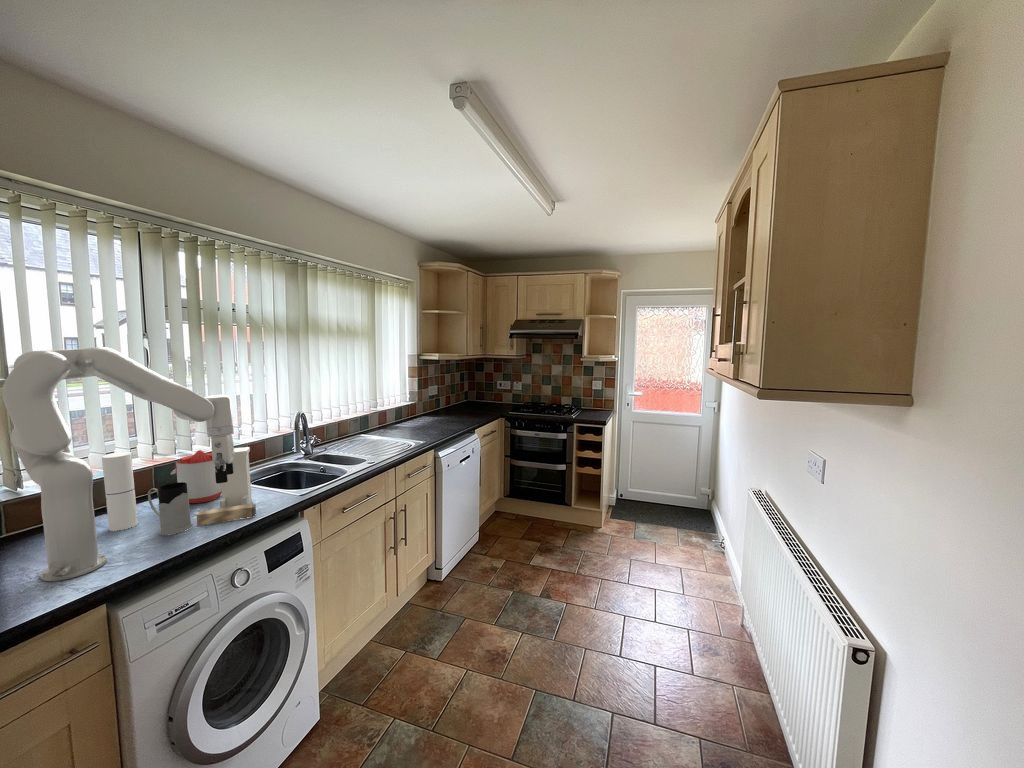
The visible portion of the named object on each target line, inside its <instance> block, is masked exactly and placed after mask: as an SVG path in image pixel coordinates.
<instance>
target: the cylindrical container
mask: <svg viewBox="0 0 1024 768" xmlns="http://www.w3.org/2000/svg"><path fill="white" fill-rule="evenodd" d="M132 461H133V460H132V452H129V451H128V452H127V451H122V452H114V453H108V454H105V455H102V456H101V463H102V464H101V465H102V470H103V480H104V492H105V499H106V511H107V519H108V530H109V531H110V532H120V531H119V530H121V531H124V529H125V530H128V528H129V529H132V528H134V527H136V526H138V513H137V512H138V511H137V501H136V500H137V499H136V490H135V489H136V488H135V481H134V480H135V479H134V471H133V462H132ZM131 527H132V528H131ZM117 530H118V531H117Z"/></svg>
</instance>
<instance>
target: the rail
mask: <svg viewBox="0 0 1024 768" xmlns="http://www.w3.org/2000/svg"><path fill="white" fill-rule="evenodd" d="M255 514H256V515H257V507H256V504H253V503H250V504H246V505H239V506H232V507H225V508H220V507H218V508H211V509H205V510H199V511H198V513H197V514H196V526H197V525H200V526H205V525H204V524H207V525H211V524H210V523H213V524H218V523H217V522H220V523H224V522H223V521H226V522H229V521H228V520H233V521H235V520H234V519H239V520H241V519H240V518H246V519H248V518H247V517H252V518H254V517H253V516H255V517H256V515H255Z"/></svg>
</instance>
